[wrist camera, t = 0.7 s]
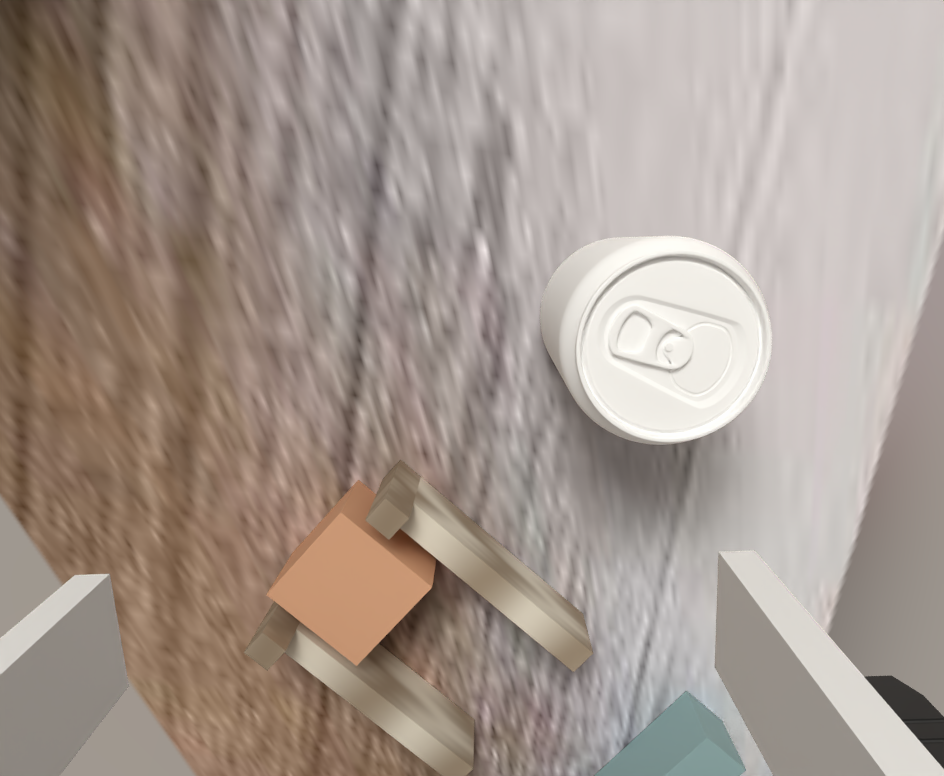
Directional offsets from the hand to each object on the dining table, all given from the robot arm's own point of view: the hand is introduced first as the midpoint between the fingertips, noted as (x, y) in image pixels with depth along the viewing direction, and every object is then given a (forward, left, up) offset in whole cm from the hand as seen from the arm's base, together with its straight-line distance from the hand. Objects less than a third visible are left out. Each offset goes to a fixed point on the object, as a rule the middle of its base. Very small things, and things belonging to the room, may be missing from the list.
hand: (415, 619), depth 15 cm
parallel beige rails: (+7, -11, -24) cm, 27 cm away
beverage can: (+3, +9, -24) cm, 26 cm away
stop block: (+24, -11, -24) cm, 35 cm away
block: (+2, -11, -24) cm, 26 cm away
